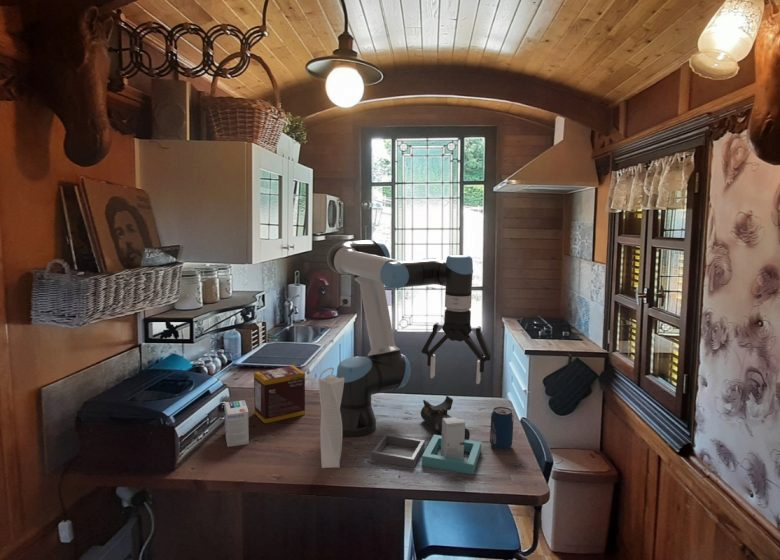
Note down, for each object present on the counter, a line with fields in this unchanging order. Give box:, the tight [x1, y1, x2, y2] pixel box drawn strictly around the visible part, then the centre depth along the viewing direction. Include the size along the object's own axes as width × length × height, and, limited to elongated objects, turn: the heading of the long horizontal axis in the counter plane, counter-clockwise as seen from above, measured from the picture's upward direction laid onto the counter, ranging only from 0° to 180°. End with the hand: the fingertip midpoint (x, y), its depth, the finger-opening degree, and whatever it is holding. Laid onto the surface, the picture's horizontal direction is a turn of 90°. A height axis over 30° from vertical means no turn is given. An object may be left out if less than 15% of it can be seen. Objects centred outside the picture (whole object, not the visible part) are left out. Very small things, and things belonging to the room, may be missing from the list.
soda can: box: [489, 406, 514, 451], centre depth 164 cm, size 7×7×12 cm
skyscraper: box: [317, 367, 344, 469], centre depth 151 cm, size 8×8×28 cm
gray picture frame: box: [370, 433, 426, 468], centre depth 159 cm, size 13×13×2 cm
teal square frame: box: [421, 434, 482, 476], centre depth 157 cm, size 15×15×3 cm
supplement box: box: [253, 365, 306, 424], centre depth 186 cm, size 10×15×16 cm
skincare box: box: [440, 416, 466, 460], centre depth 156 cm, size 6×4×12 cm
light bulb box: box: [223, 399, 250, 448], centre depth 166 cm, size 11×7×11 cm, turn 22°
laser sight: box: [420, 395, 471, 440], centre depth 174 cm, size 10×22×10 cm, turn 27°
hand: (455, 379), depth 153 cm, fingers open, 13 cm apart
